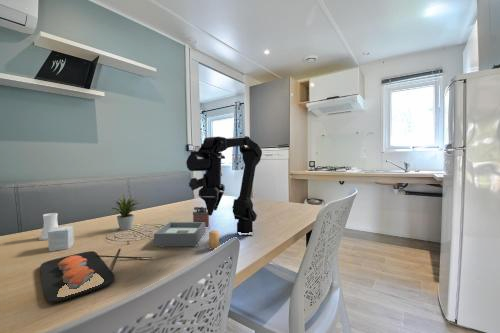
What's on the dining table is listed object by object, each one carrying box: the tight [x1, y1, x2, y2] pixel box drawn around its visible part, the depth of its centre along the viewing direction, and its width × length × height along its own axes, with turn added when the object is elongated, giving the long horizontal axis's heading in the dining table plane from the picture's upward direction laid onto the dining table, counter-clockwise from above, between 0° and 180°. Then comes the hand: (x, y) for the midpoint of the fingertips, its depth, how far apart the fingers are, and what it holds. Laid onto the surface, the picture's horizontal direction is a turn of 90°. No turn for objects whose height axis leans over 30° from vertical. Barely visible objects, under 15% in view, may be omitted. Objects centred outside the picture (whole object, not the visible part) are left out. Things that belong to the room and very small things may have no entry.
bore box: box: [153, 221, 206, 247], centre depth 96 cm, size 16×16×5 cm
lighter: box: [192, 206, 210, 227], centre depth 113 cm, size 8×3×10 cm, turn 84°
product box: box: [47, 225, 75, 252], centre depth 88 cm, size 6×6×7 cm
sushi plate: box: [39, 248, 151, 303], centre depth 72 cm, size 29×30×4 cm
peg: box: [208, 230, 220, 251], centre depth 87 cm, size 4×4×6 cm
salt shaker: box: [38, 212, 59, 241], centre depth 99 cm, size 8×8×10 cm
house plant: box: [111, 194, 143, 231], centre depth 110 cm, size 14×14×16 cm
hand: (212, 212), depth 86 cm, fingers open, 9 cm apart
